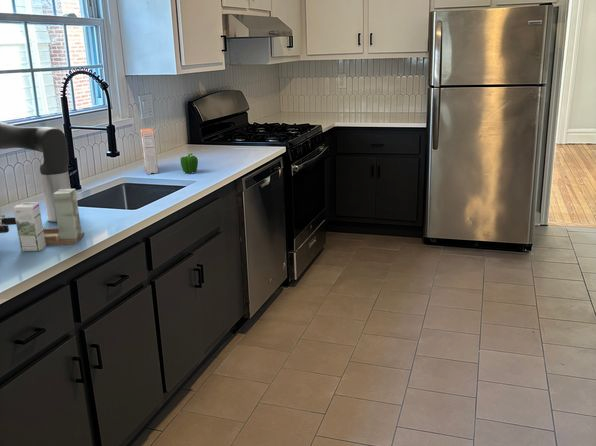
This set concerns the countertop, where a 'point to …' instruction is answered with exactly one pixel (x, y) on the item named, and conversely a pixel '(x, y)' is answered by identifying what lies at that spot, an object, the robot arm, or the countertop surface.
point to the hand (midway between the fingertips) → (13, 224)
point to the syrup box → (29, 226)
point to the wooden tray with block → (65, 219)
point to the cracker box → (149, 150)
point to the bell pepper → (189, 163)
